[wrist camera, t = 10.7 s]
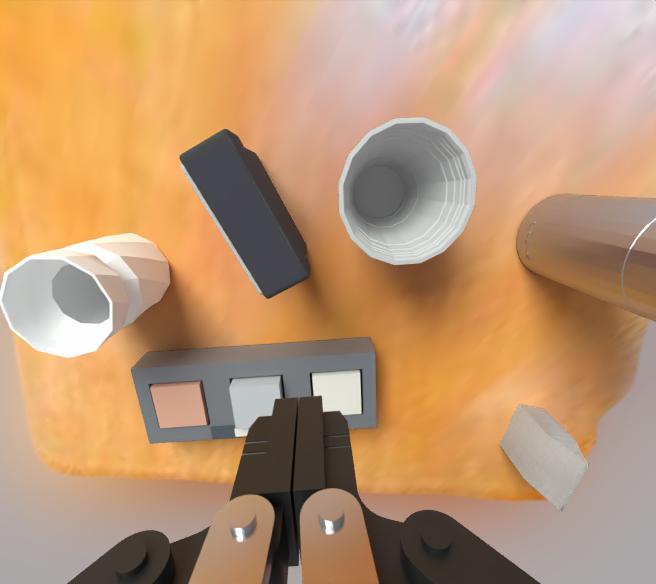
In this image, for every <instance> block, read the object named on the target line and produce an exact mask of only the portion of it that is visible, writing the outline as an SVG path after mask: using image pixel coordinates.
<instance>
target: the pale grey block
mask: <svg viewBox="0 0 656 584" xmlns="http://www.w3.org/2000/svg"><path fill="white" fill-rule="evenodd" d="M500 446H501V447H502V449H503V450H504V451H505V453H506V454H507V456H508V457H509V459H510V460H511V461H512V463H513V464H514V466H515V467H516V468H517V470H518V471H519V473H520V474H521V475H522V477H523V478H524V479H525V480H526V481H527V482H528V483H529V484H530V485H531V486H533V487H534V488H535V489H536V490H537V491H538V492H539V493H541V494H542V495H543V496H544V497H545V498H546V499H547V500H548V501H549V502H551V503H552V504H553V505H554V506H555V507H556V508H557V509H558V511H560V510H561V511H563V509H564V507H565V505H566V504H567V502H568V500H569V498H570V497H571V495H572V493H573V492H574V490H575V488H576V486H577V485H578V483H579V481H580V480H581V478H582V476H583V474H584V473H585V471H586V469H587V468H588V466H589V463H588V462H587V461H586V459H585V458H584V456H583V454H582V453H581V451H580V449H579V446H578V444H577V442H576V440H575V439H574V438H573V437H572V436H571V435H570V434H569V433H568V432H567V431H566V430H565V429H564V428H563V427H562V426H561V425H560V424H559V423H558V422H557V421H556V420H555V419H554V418H553V417H552V416H551V415H550V414H549V413H548V412H547V411H546V410H545V409H543V408H538V407H533V406H528V405H523V404H518V406H517V408H516V410H515V413H514V415H513V417H512V419H511V421H510V423H509V425H508V427H507V429H506V432H505V434H504V436H503V438H502V440H501V442H500Z"/></svg>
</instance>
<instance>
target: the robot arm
mask: <svg viewBox="0 0 656 584" xmlns="http://www.w3.org/2000/svg"><path fill="white" fill-rule="evenodd" d="M517 251H518V255H519V257H520V259H521V261H522V263H523V264H524V265H525V266H526V267H527V268H528V269H529V270H531V271H532V272H534V273H537V274H539V275H542V276H544V277H547V278H549V279H551V280H554V281H556V282H558V283H561V284H563V285H566V286H568V287H571V288H573V289H576V290H578V291H581V292H583V293H585V294H588V295H590V296H593V297H595V298H598V299H600V300H603V301H605V302H608V303H610V304H613V305H615V306H618V307H620V308H623V309H625V310H627V311H630V312H632V313H635V314H637V315H640V316H642V317H645V318H648V319H650V320H653V321H655V322H656V198H637V197H615V196H596V195H573V194H563V195H556V196H552V197H549V198H547V199H545V200H543V201H541V202H540V203H539V204H537V205H536V206H535V207H533V208H532V210H531V211H530V212H529V213H528V214H527V215H526V217H525V218H524V220H523V221H522V223H521V226H520V228H519V231H518V236H517ZM299 549H300V558H301V565H302V584H540V583H539V582H538V581H536V580H535V579H534V578H532V577H531V576H530V575H528V574H527V573H526V572H524V571H523V570H522V569H520V568H519V567H518V566H516V565H515V564H514V563H512V562H511V561H509V560H508V559H507V558H505V557H504V556H503V555H501V554H500V553H499V552H497V551H496V550H495V549H493V548H492V547H491V546H489V545H488V544H486V543H485V542H484V541H483V540H481V539H480V538H479V537H477V536H476V535H475V534H473V533H472V532H471V531H469V530H468V529H466V528H465V527H464V526H463V525H461V524H460V523H458V522H457V521H456V520H455V519H453V518H451V517H450V516H448V515H446V514H444V513H441V512H438V511H433V510H422V511H418V512H415V513H413V514H411V515H410V516H409V517H408V518H407V519H406V520H405V521H404V523H402V522H398V521H394V520H390V519H386V518H383V517H380V516H378V515H376V514H375V513H373V512H371V511H370V510H369V509H368V508H367V507H366V506H365V505H364V504H363V502H362V501H361V499H360V497H359V495H358V491H357V485H356V478H355V470H354V463H353V456H352V449H351V442H350V436H349V428H348V421H347V420H346V418H345V417H344V416H343V415H342V413H341V412H340V411H328V412H323V402H322V396H308V397H300V398H299V399H298V397H295V398H281V399H275V401H274V407H273V412H272V416H260V417H258V418H257V419H256V420H255V422H254V423H253V424H252V425H251V427H250V428H249V430H248V434H247V438H246V441H245V445H244V449H243V453H242V456H241V460H240V464H239V468H238V471H237V475H236V479H235V483H234V486H233V490H232V494H231V498H230V501H229V502H228V503H226V504H225V505H224V506H223V507H222V508H221V509H220V510H219V511H218V512H217V514H216V515H215V517H214V519H213V521H212V523H211V526H209V527H208V528H206V529H205V530H203V531H201V532H199V533H197V534H194V535H192V536H189V537H186V538H184V539H181V540H179V541H176V542H173V543H171V544H170V543H169V540H168V538H167V537H166V536H165V535H164V534H163V533H161V532H158V531H154V530H148V531H142V532H139V533H135V534H133V535H131V536H129V537H127V538H125V539H124V540H122V541H121V542H119V543H118V544H117V545H115V546H114V547H113V548H111V549H110V550H109V551H108V552H106V553H105V554H104V555H103V556H101V557H100V558H99V559H98V560H96V561H95V562H94V563H93V564H91V565H90V566H89V567H88V568H86V569H85V570H84V571H83V572H81V573H80V574H79V575H77V576H76V577H75V578H74V579H72V580H71V581H70V582H69V583H68V584H287V578H288V567H289V566H298V565H299Z"/></svg>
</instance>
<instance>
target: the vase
mask: <svg viewBox="0 0 656 584" xmlns="http://www.w3.org/2000/svg"><path fill="white" fill-rule="evenodd" d="M170 282H171V281H170V272H169V263H168V260H167V259H166V258H165V256H164V255H163V254H162V252H161V251H160V250H159V249H158V247H157V246H156V245H155V243H153V242H151V241H149V240H146V239H144V238H142V237H140V236H138V235H135V234H133V233H129V234H120V235H113V236H107V237H103V238H98V239H94V240H89V241H85V242H82V243H78V244H75V245H72V246H68V247H65V248H62V249H57V250H52V251H48V252H44V253H39V254H35V255H31V256H28V257H27V258H25V259H24V260H22V261H21V262H19V263H18V264H17V265H15V266H14V267H12V268H11V269H9V270H8V271H7V272H5V274H4V278H3V282H2V287H1V291H0V305H1V307H2V310H3V312H4V315H5V317H6V319H7V322H8V324H9V326H10V329H11V330H12V331H14V332H15V333H16V334H17V335H19V336H20V337H21V338H22V339H24V340H25V341H26V342H27V343H29V344H30V345H31V346H32V347H34V348H35V349H36V350H38V351H42V352H46V353H50V354H54V355H58V356H62V357H66V358H70V357H74V356H78V355H82V354H85V353H89V352H93V351H96V350H97V349H98V348H99V347H100V346H101V345H102V344H103V343H104V342H105V341H107V340H108V339H109V338H110V337H111V336H113V335H114V334H115V333H117V332H118V331H119V330H121V329H122V328H124V327H125V326H127V325H129V324H131V323H133V322H134V321H135V320H136V319H137V318H138V317H139V315H141V314H142V313H143V312H144V311H145V310H146V309H148V308H149V307H151V306H152V305H154V304H156V303H157V302H159V301H160V300H161V299H162V297H163V295H164V293H165V292H166V290H167V288H168V286H169V285H170Z"/></svg>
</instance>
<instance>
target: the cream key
mask: <svg viewBox="0 0 656 584" xmlns="http://www.w3.org/2000/svg"><path fill="white" fill-rule="evenodd" d="M312 381H313V393H314V396H322V402H323V412H328V411H340V412H341V413H342V415H351V414H361V383H360V370H359V369H356V370H341V371H327V372H313V373H312Z"/></svg>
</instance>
